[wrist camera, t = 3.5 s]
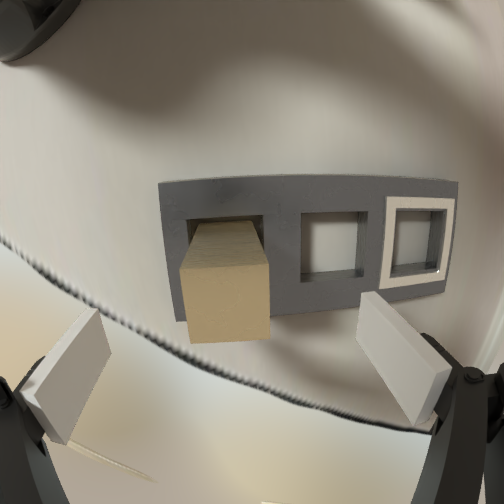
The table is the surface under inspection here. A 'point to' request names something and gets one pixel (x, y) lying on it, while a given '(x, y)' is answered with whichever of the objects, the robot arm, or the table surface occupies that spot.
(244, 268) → the peg
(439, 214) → the grey flat slotted block
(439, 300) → the table surface
